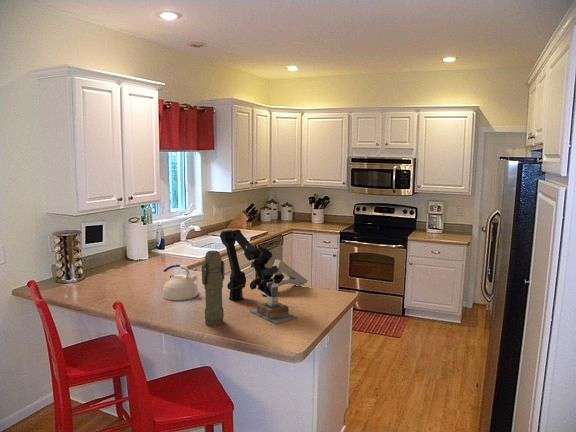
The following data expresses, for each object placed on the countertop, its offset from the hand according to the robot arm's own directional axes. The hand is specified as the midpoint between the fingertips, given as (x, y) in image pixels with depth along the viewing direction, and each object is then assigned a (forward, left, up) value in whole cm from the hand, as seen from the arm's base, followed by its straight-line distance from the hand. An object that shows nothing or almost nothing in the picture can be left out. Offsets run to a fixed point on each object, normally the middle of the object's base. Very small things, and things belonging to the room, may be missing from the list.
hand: (274, 295), depth 226 cm
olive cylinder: (+27, -13, -11) cm, 32 cm away
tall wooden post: (0, -1, -7) cm, 7 cm away
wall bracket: (-34, -29, -11) cm, 47 cm away
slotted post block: (0, -1, -10) cm, 11 cm away
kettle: (+17, -62, -11) cm, 65 cm away
